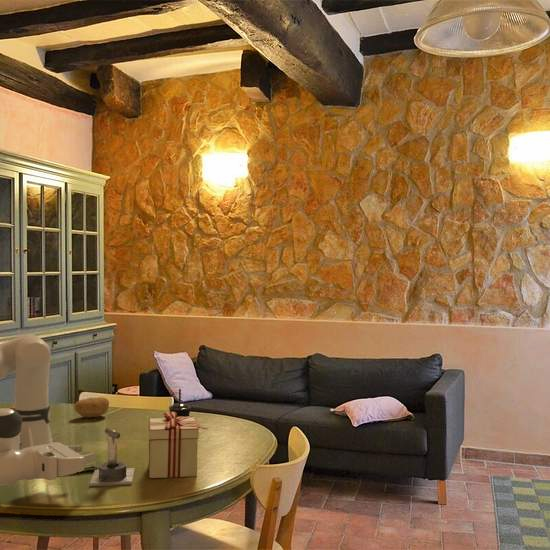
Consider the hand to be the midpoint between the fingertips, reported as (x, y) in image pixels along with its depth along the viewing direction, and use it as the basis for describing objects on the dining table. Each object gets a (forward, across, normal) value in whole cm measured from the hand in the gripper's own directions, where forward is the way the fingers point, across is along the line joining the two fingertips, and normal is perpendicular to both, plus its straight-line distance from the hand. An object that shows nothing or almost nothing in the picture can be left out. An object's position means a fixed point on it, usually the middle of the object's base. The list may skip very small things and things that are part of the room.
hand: (87, 452), depth 191 cm
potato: (+33, -75, -10) cm, 83 cm away
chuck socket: (+8, 0, -10) cm, 13 cm away
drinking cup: (+42, -18, -10) cm, 46 cm away
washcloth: (+4, -20, -10) cm, 22 cm away
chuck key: (+8, 0, -9) cm, 12 cm away
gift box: (+28, +4, -10) cm, 30 cm away
